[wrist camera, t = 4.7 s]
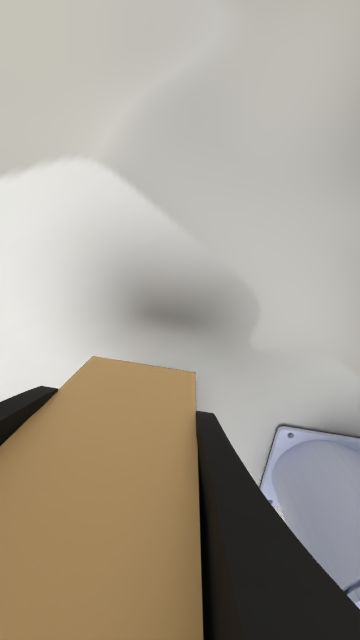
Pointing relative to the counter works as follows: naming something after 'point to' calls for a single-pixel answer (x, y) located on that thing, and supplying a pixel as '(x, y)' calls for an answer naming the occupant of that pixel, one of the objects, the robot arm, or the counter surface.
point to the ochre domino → (104, 510)
